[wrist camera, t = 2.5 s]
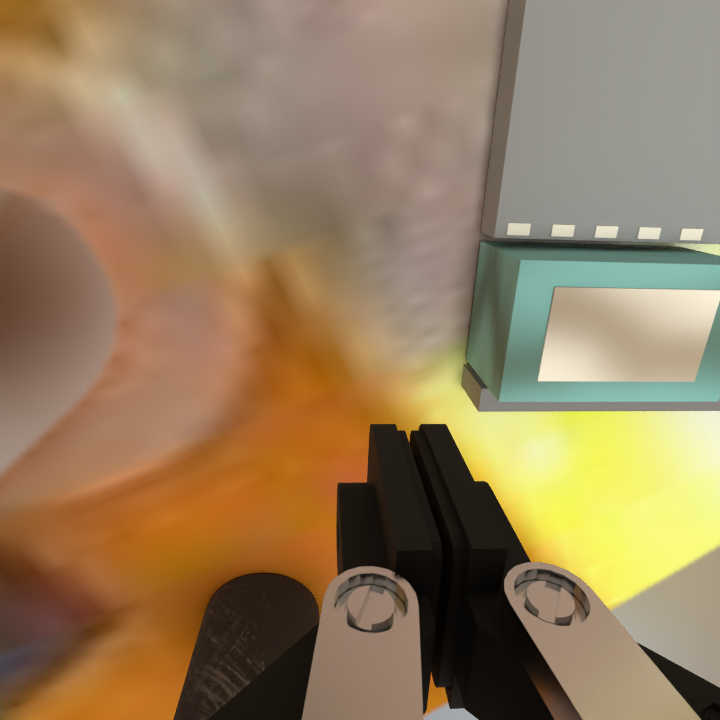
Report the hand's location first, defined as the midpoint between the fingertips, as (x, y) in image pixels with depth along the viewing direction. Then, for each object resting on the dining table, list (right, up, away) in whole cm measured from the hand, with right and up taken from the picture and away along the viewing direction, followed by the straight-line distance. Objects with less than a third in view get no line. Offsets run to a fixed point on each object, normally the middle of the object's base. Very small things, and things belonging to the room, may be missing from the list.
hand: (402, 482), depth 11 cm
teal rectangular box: (+10, +6, +14) cm, 18 cm away
